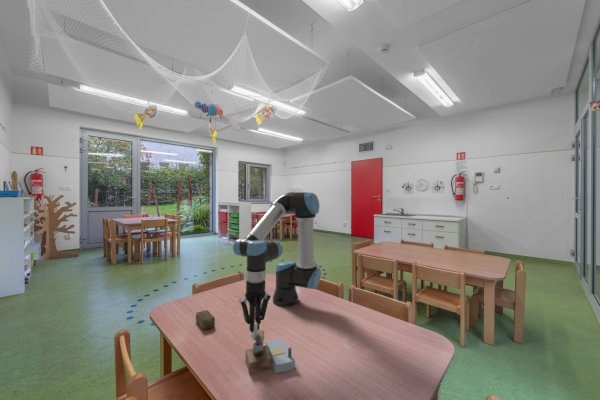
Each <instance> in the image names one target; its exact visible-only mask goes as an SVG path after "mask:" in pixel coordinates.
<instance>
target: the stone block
mask: <svg viewBox="0 0 600 400" xmlns="http://www.w3.org/2000/svg"><path fill="white" fill-rule="evenodd" d="M215 318H216V317H214V315H213V314H212V313H211V311H209V309H208V310H201V311H198V312H196V315H195V322H196V323H197V324H198V326H200V328H201V329H202V330H209V329H212V328H215V326H216V325H215V324H216V322H215V321H216V319H215Z"/></svg>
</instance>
